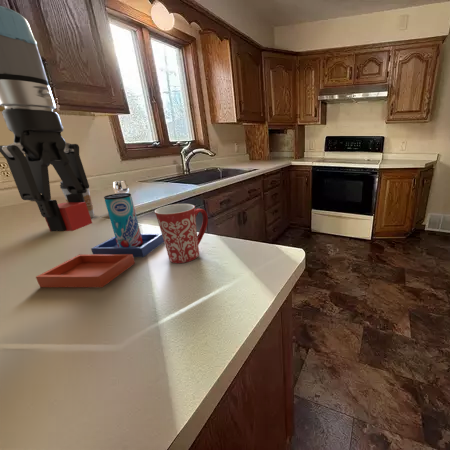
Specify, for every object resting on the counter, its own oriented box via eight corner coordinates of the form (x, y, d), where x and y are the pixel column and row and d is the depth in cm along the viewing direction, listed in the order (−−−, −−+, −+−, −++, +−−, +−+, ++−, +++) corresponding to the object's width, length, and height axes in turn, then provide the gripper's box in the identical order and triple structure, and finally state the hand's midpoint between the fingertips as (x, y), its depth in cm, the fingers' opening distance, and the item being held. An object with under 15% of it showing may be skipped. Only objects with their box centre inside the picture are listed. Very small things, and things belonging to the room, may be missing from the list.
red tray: (40, 287, 52) (35, 276, 51) (82, 263, 62) (79, 254, 61) (102, 287, 52) (98, 276, 51) (135, 263, 62) (132, 254, 61)
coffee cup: (86, 220, 95) (74, 182, 90) (65, 221, 96) (51, 182, 91) (102, 214, 103) (92, 179, 98) (83, 214, 103) (72, 179, 98)
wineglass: (131, 204, 119) (125, 179, 115) (134, 206, 115) (128, 181, 111) (117, 206, 115) (110, 181, 111) (119, 209, 111) (112, 182, 107)
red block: (49, 231, 52) (41, 208, 50) (71, 223, 56) (63, 202, 55) (73, 230, 51) (64, 208, 50) (92, 223, 56) (85, 202, 54)
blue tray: (93, 257, 65) (90, 248, 64) (121, 241, 75) (119, 233, 74) (143, 257, 65) (141, 248, 64) (165, 241, 75) (163, 233, 74)
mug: (176, 269, 59) (165, 215, 54) (159, 259, 64) (147, 209, 59) (220, 250, 68) (214, 203, 63) (202, 243, 73) (195, 199, 69)
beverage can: (119, 253, 66) (103, 199, 61) (118, 246, 71) (104, 195, 66) (144, 247, 69) (131, 195, 64) (142, 241, 74) (130, 192, 69)
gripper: (-9, 102, 37) (47, 242, 45) (89, 114, 54) (117, 214, 62) (-56, 103, 38) (7, 242, 45) (57, 114, 55) (89, 214, 62)
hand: (71, 225), depth 54 cm, fingers closed on red block, 5 cm apart
